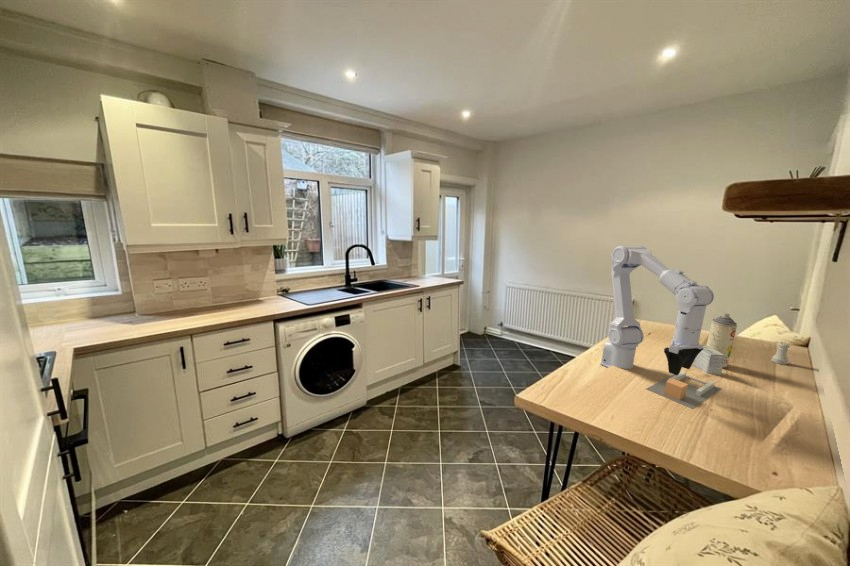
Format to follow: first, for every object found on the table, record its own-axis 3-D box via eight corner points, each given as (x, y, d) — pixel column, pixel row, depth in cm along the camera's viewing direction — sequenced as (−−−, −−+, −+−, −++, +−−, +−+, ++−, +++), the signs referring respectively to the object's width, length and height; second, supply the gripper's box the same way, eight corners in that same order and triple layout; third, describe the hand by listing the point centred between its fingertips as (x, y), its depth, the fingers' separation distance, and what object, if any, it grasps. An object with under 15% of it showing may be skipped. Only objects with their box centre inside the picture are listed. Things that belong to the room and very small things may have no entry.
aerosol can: (727, 370, 115) (740, 317, 111) (702, 364, 120) (714, 313, 115) (726, 364, 120) (738, 313, 116) (703, 358, 125) (713, 309, 121)
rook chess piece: (775, 363, 122) (780, 344, 120) (768, 359, 126) (773, 340, 124) (790, 365, 120) (796, 346, 118) (783, 361, 124) (788, 342, 122)
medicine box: (720, 378, 109) (726, 355, 107) (705, 377, 110) (710, 354, 108) (705, 368, 116) (710, 346, 115) (691, 367, 117) (696, 345, 115)
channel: (644, 393, 98) (646, 384, 98) (676, 376, 110) (677, 368, 109) (691, 413, 88) (694, 404, 88) (721, 392, 100) (723, 384, 99)
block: (663, 393, 96) (666, 381, 95) (669, 390, 98) (672, 378, 97) (679, 400, 92) (682, 387, 91) (685, 396, 94) (688, 384, 93)
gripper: (694, 336, 84) (685, 382, 86) (715, 327, 91) (706, 370, 94) (664, 327, 90) (655, 372, 92) (686, 320, 97) (677, 361, 100)
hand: (679, 370), depth 94 cm, fingers open, 7 cm apart
